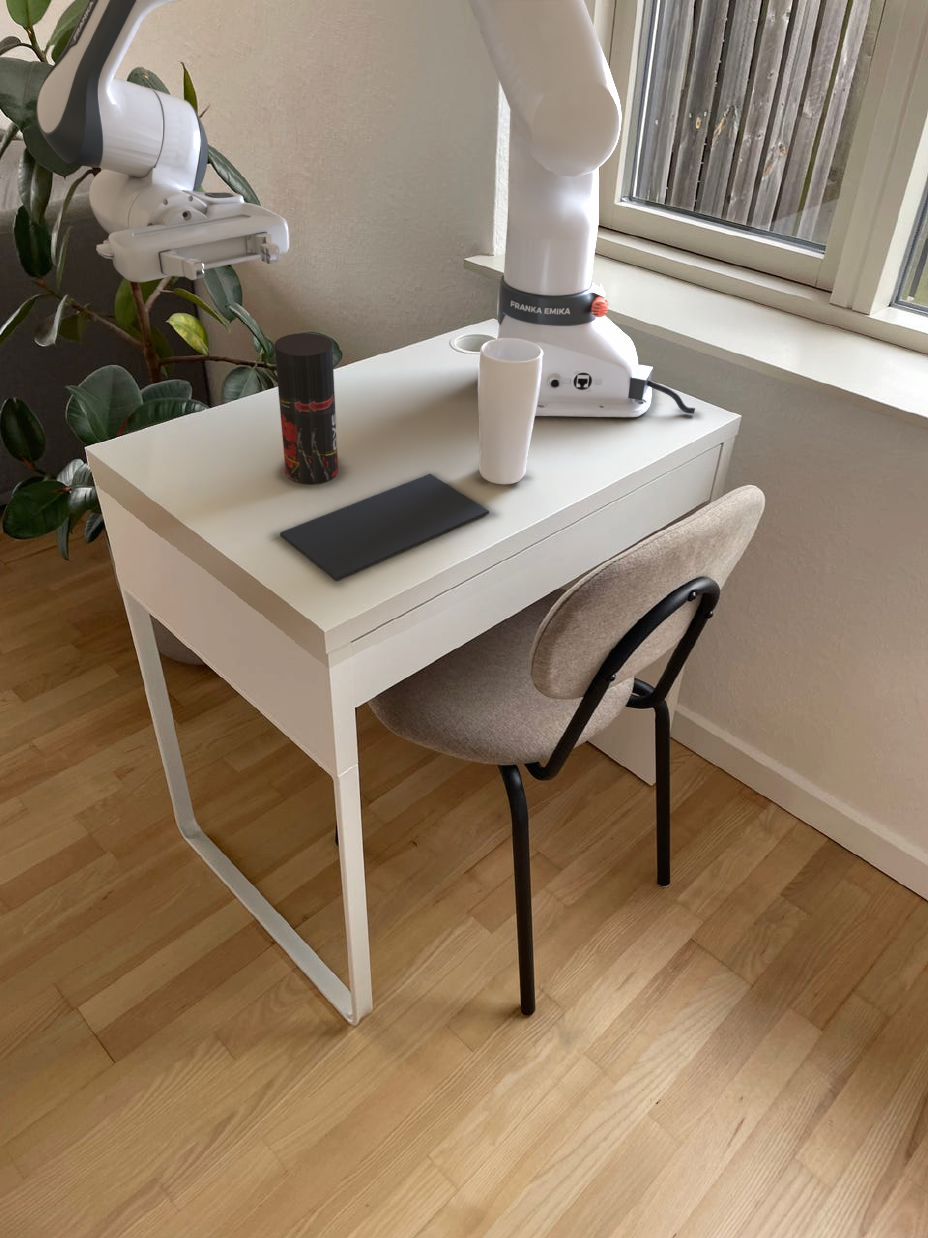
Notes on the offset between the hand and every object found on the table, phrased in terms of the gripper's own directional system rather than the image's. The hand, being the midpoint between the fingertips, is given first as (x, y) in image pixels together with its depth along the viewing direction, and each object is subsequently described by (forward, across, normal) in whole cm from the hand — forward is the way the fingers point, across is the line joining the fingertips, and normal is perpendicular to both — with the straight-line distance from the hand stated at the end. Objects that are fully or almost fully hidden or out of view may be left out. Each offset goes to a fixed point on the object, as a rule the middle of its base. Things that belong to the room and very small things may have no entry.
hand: (237, 263), depth 101 cm
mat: (+26, 0, +20) cm, 33 cm away
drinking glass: (+26, +17, +20) cm, 37 cm away
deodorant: (+12, 0, +20) cm, 24 cm away
